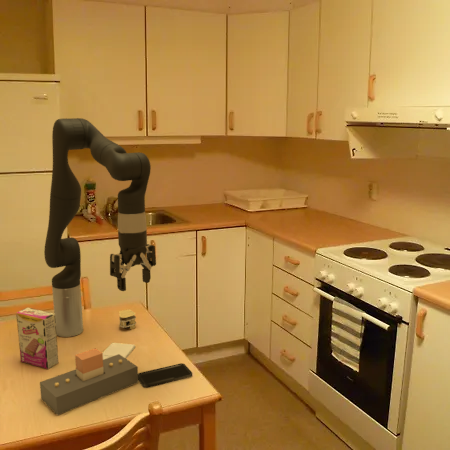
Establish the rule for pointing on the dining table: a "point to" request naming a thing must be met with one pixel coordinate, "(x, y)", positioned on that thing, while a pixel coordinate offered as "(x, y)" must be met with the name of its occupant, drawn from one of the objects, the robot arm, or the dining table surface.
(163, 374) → the phone
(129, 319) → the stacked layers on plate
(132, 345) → the external hard drive
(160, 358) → the dining table surface
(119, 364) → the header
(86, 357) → the plug
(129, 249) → the robot arm
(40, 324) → the candy bar box
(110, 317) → the dining table surface
